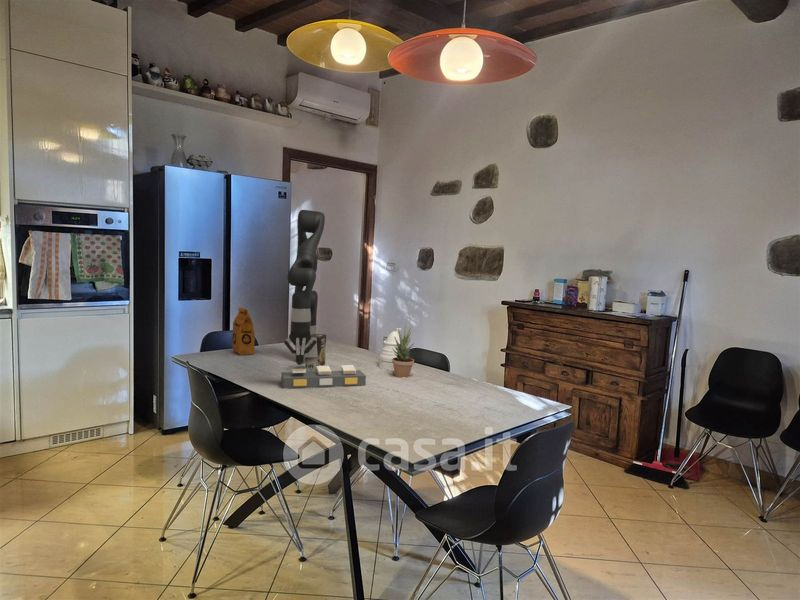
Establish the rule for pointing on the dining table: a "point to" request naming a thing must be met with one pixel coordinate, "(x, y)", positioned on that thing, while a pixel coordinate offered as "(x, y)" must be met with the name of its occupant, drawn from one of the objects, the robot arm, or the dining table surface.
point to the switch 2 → (323, 370)
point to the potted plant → (403, 355)
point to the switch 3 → (348, 369)
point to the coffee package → (243, 333)
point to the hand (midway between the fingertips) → (299, 364)
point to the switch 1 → (298, 370)
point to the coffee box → (316, 353)
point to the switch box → (321, 379)
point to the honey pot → (389, 350)
